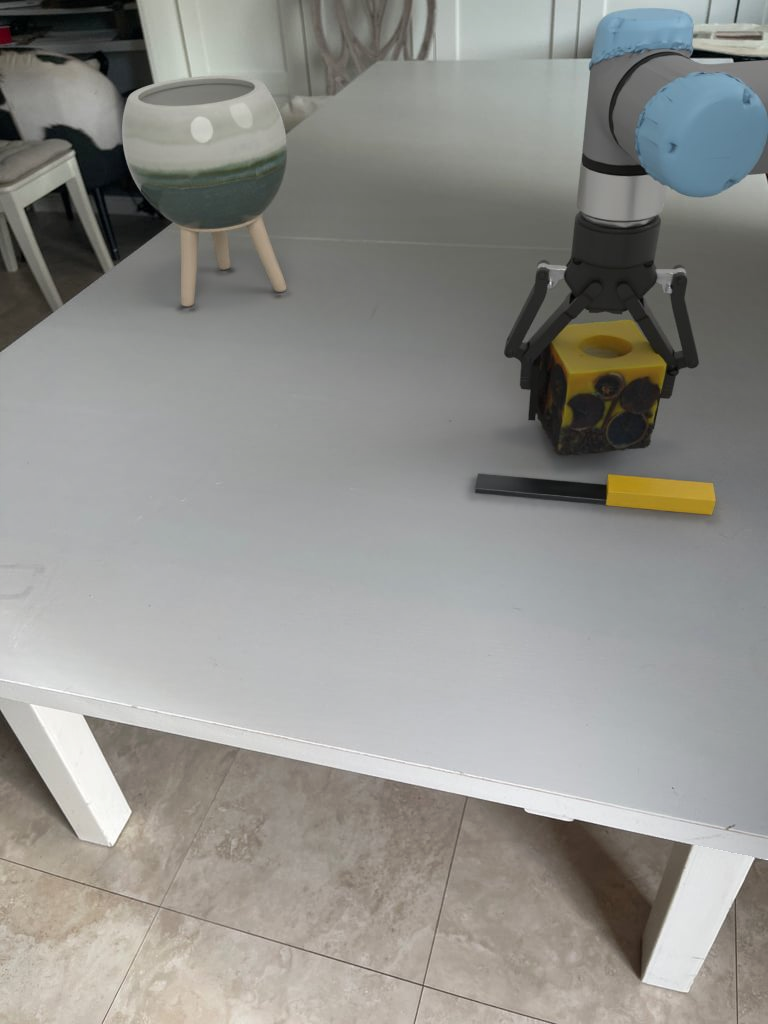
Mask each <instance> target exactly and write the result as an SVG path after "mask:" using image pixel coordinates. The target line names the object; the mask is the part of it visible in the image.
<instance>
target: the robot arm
mask: <svg viewBox="0 0 768 1024" xmlns="http://www.w3.org/2000/svg"><path fill="white" fill-rule="evenodd" d="M694 26H695V24H694V19H693V17H692V16H691V15H690V13H688V12H687V11H683V10H681V9H680V10H679V9H673V8H658V7H640V8H627V9H621V10H617V11H613V12H610V13H608V14H606V15H604V16H603V17H602V18H601V19H600V21H599V22H598V24H597V26H596V29H595V35H594V39H593V40H594V41H593V45H592V46H593V47H592V52H591V58H590V61H589V64H588V70H589V79H588V87H587V99H586V109H585V120H584V131H583V141H582V153H581V162H580V167H579V176H578V177H579V178H578V187H577V188H578V189H577V195H576V209H578V210H579V211H578V212H577V213H576V214H575V216H574V224H573V236H572V243H571V253H570V259H569V260H568V262H567V263H566V264H565V265H561V264H551V263H550V261H548V259H547V260H546V259H542V260H540V261H538V263H537V265H536V273H535V279H534V280H535V281H534V284H533V286H532V288H531V289H530V292H529V294H528V296H527V298H526V300H525V301H524V304H523V307H522V308H521V310H520V312H519V314H518V316H517V318H516V320H515V322H514V324H513V326H512V328H511V330H510V332H509V334H508V336H507V338H506V341H505V346H504V349H503V350H504V352H503V355H504V356H505V358H509V359H513V358H515V359H517V360H518V361H519V362H520V375H519V376H520V377H519V387H520V390H526V391H528V390H529V392H530V393H529V403H528V414H527V415H528V416H527V420H528V421H531V422H535V421H536V418H537V417H536V416H537V414H536V409H537V399H538V387H539V376H540V364H541V353H542V352H543V351H544V349H545V348H546V347H547V346H548V345H549V344H550V343H551V342H552V341H553V340H554V339H555V338H556V336H557V335H558V334H559V333H560V332H561V331H562V330H563V329H564V328H565V327H566V326H567V325H568V324H570V323H571V322H572V320H575V319H576V318H577V317H578V316H579V315H580V314H581V313H582V312H583V311H584V310H586V311H588V313H589V314H600V313H604V312H606V313H610V314H613V315H623V313H625V312H629V314H630V316H631V317H632V320H633V321H634V323H637V325H638V328H640V331H641V333H642V334H643V336H644V337H645V339H646V340H647V341H648V342H649V344H650V345H651V347H652V348H653V350H654V352H655V353H656V354H659V355H660V356H661V357H662V358H663V360H664V361H665V363H666V364H667V365H666V371H665V376H664V381H663V385H662V389H661V393H660V396H659V399H658V400H657V408H656V411H655V416H654V427H653V430H655V426H656V422H657V416H658V412H659V406H660V401H661V399H667V400H669V399H670V398H671V397H672V396H673V391H674V387H675V382H676V378H677V376H678V375H679V373H680V370H681V369H687V368H688V369H691V370H692V369H695V368H697V367H698V366H699V364H700V360H699V355H698V349H697V345H696V341H695V340H696V339H695V336H694V332H693V327H692V323H691V319H690V314H689V310H688V307H687V302H686V301H687V300H686V291H687V285H688V277H687V276H688V275H687V270H686V267H685V266H684V265H683V264H676V265H674V266H673V268H657V267H656V264H655V259H656V254H657V248H658V242H659V236H660V231H661V226H662V225H661V224H662V219H661V217H660V214H661V213H662V212H663V210H664V208H665V203H666V202H665V201H666V196H667V189H668V187H669V188H670V189H671V190H673V191H675V192H676V193H678V194H680V195H682V196H686V197H689V198H690V197H691V198H697V199H698V198H699V199H700V198H709V197H715V196H717V195H719V194H721V193H722V192H724V191H726V190H728V189H730V188H732V187H733V186H735V185H737V184H740V182H742V180H744V179H745V178H746V177H747V176H752V175H764V174H765V175H766V174H768V59H764V60H763V59H762V60H761V59H760V60H749V61H736V62H722V63H700V62H697V61H695V60H693V59H691V56H692V55H693V52H694V45H693V41H694ZM563 280H564V282H565V283H566V285H567V287H568V288H569V289H570V292H568V294H567V295H566V296H565V298H564V300H563V302H561V304H560V305H559V306H558V307H557V309H555V310H554V311H553V313H552V314H551V315H550V316H549V317H548V318H547V319H546V320H545V322H544V323H543V324H542V325H541V326H540V327H539V329H537V331H535V333H534V334H533V335H532V336H531V337H530V338H529V340H527V342H526V341H524V339H525V338H526V337H527V333H528V332H529V330H530V328H531V326H532V324H533V323H534V321H535V318H536V317H537V315H538V313H539V311H540V309H541V307H542V305H543V303H544V301H545V299H546V296H547V292H548V290H553V289H555V287H556V286H557V284H558V282H560V281H563ZM656 284H659V285H660V286H661V290H662V293H664V294H666V295H669V298H670V303H671V309H672V313H673V317H674V322H675V326H676V329H677V330H676V331H677V333H678V338H679V342H680V346H681V350H678V351H675V349H674V348H673V347H674V346H673V345H672V344H671V342H670V339H668V337H667V335H666V333H665V332H664V330H663V328H662V327H661V326H660V323H659V322H658V320H657V318H656V317H655V315H654V313H653V311H652V310H651V308H650V306H649V304H648V302H647V300H646V298H645V295H646V294H647V293H648V292H649V291H650V290H651V289H652V288H653V287H654V286H655V285H656Z"/></svg>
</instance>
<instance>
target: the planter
mask: <svg viewBox="0 0 768 1024" xmlns="http://www.w3.org/2000/svg"><path fill="white" fill-rule="evenodd" d="M121 137H122V138H121V140H122V146H123V148H122V149H123V153H124V157H125V162H126V164H127V167H128V170H129V173H130V175H131V177H132V180H133V181H134V184H135V185H136V187H137V188H138V190H139V192H140V193H141V195H142V196H143V197H144V199H145V200H146V201H147V202H148V203H149V205H151V207H152V208H153V209H154V210H155V211H156V212H158V213H159V214H160V215H161V216H163V217H164V218H166V219H167V220H168V221H170V222H172V223H173V224H174V225H175V226H176V227H177V228H180V229H179V230H180V304H181V305H182V306H183V307H186V308H188V307H191V306H194V303H195V299H196V298H195V297H196V296H195V295H196V282H197V271H198V258H199V257H198V256H199V241H200V239H199V238H200V233H211V237H212V242H213V248H214V253H215V257H216V261H217V266H218V268H219V269H220V270H225V271H226V270H228V269H230V268H231V258H230V248H229V241H228V239H229V238H228V232H227V231H232V230H235V229H241V228H244V227H246V230H247V231H248V234H249V236H250V238H251V241H252V243H253V246H254V248H255V250H256V253H257V254H258V257H259V260H260V262H261V263H262V265H263V268H264V270H265V272H266V274H267V276H268V278H269V281H270V283H271V285H272V287H273V290H274V291H275V292H278V293H283V292H285V291H286V290H287V284H286V281H285V277H284V275H283V272H282V270H281V267H280V265H279V262H278V259H277V257H276V254H275V252H274V251H275V250H274V249H273V246H272V242H271V240H270V238H269V234H268V232H267V229H266V227H265V223H264V219H263V216H264V214H265V211H267V209H268V208H269V207H270V205H271V204H272V203H273V202H274V200H275V198H276V196H277V194H278V193H279V191H280V188H281V186H282V183H283V180H284V177H285V173H286V168H287V163H288V162H287V159H288V141H287V134H286V128H285V123H284V121H283V117H282V114H281V111H280V109H279V107H278V104H277V101H276V100H275V98H274V96H273V95H272V93H271V92H270V90H269V88H268V87H267V85H266V84H265V83H264V82H263V81H261V80H259V79H256V78H252V77H248V76H241V75H203V76H190V77H183V78H176V79H169V80H164V81H160V82H156V83H152V84H149V85H146V86H143V87H141V88H138V89H136V90H133V92H131V93H130V94H129V95H128V97H127V99H126V101H125V105H124V109H123V115H122V124H121Z"/></svg>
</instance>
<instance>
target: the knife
mask: <svg viewBox="0 0 768 1024" xmlns="http://www.w3.org/2000/svg"><path fill="white" fill-rule="evenodd" d="M474 490H475V491H474V493H476V494H486V495H497V496H508V497H517V498H518V497H519V498H530V499H541V500H552V501H560V502H561V501H562V502H572V503H584V504H593V505H594V504H596V505H605V506H609V507H610V506H611V507H620V508H633V509H641V510H654V511H663V512H675V513H685V514H687V513H688V514H695V515H696V514H699V515H708V516H712V515H713V512H714V510H715V505H716V501H717V500H716V494H715V488H714V483H713V482H704V481H692V480H680V479H667V478H657V477H655V478H654V477H642V476H632V475H622V474H621V475H619V474H607V479H606V484H604V483H593V482H581V481H571V480H569V481H568V480H557V479H545V478H533V477H522V476H511V475H500V474H488V473H477V478H476V483H475V488H474Z"/></svg>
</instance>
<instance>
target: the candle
mask: <svg viewBox="0 0 768 1024" xmlns="http://www.w3.org/2000/svg"><path fill="white" fill-rule="evenodd" d="M666 365H667V364H666V363H665V361H664V360H663V358H662V357H661V356H660V355H659V354H656V353H655V352H654V350H653V348H652V347H651V345H650V343H649V342H648V340H647V338H646V337H645V335H644V334H643V332H642V331H641V329H639V326H637V324H636V322H635V321H634V319H619V320H609V321H596V322H586V323H573V324H572V323H569V324H568V325H567V326H566V327H565V328H564V329H563V330H562V331H561V332H560V333H559V334H558V335H557V336H556V338H555V339H554V340H553V341H552V342H551V343H550V344H549V345H548V346H547V347H546V348H545V349H544V351H543V352H542V353H541V364H540V376H539V387H538V399H537V409H536V416H537V420H538V421H539V423H540V425H541V428H542V429H543V431H544V432H545V433H544V434H545V435H546V436H547V439H548V440H549V441H550V442H551V444H552V446H553V449H554V453H555V454H556V455H557V456H561V457H565V456H572V455H574V456H575V455H576V456H579V455H582V454H599V453H605V452H606V453H607V452H608V453H609V452H615V451H625V450H636V449H637V450H638V449H646V448H649V446H651V443H652V442H651V438H652V434H653V432H654V429H653V427H654V416H655V411H656V408H657V400H658V399H659V396H660V393H661V389H662V385H663V381H664V376H665V371H666ZM654 428H655V427H654Z"/></svg>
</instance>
